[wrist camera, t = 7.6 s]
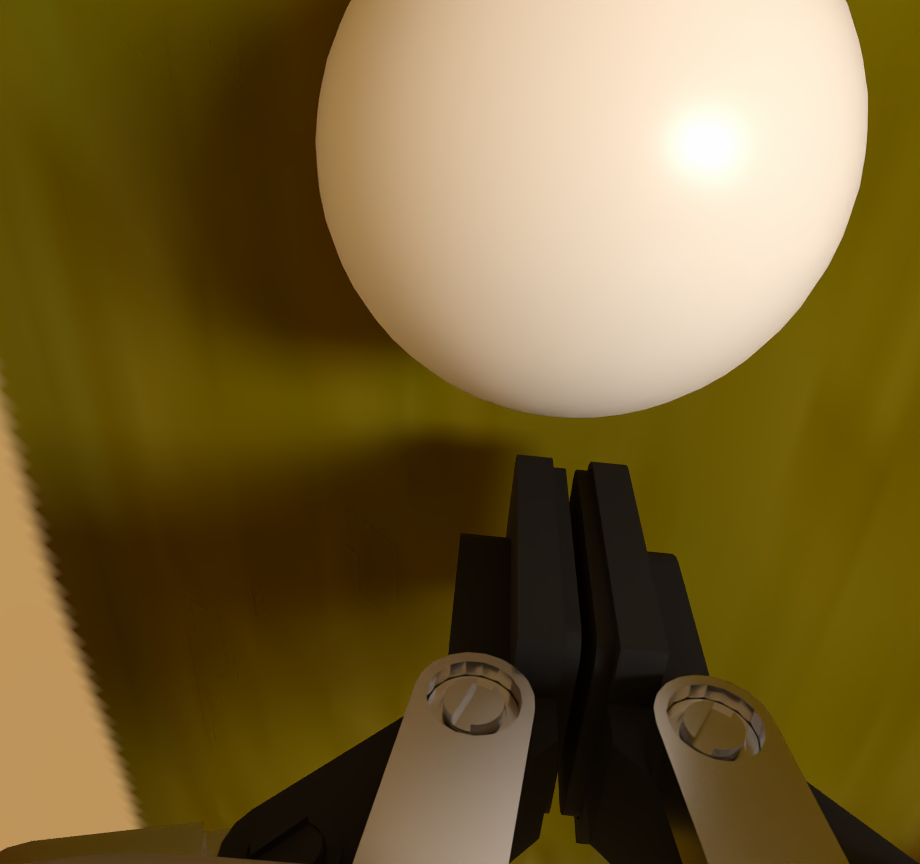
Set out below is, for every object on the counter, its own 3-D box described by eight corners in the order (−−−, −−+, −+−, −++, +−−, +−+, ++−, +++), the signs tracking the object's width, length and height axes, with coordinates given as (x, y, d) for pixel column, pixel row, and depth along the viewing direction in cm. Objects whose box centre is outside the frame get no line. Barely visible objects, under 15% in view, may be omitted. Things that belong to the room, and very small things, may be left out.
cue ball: (1002, -140, 4) (838, -297, 8) (106, 66, 6) (316, -143, 9) (888, 515, 8) (813, 203, 12) (366, 531, 10) (445, 253, 13)
